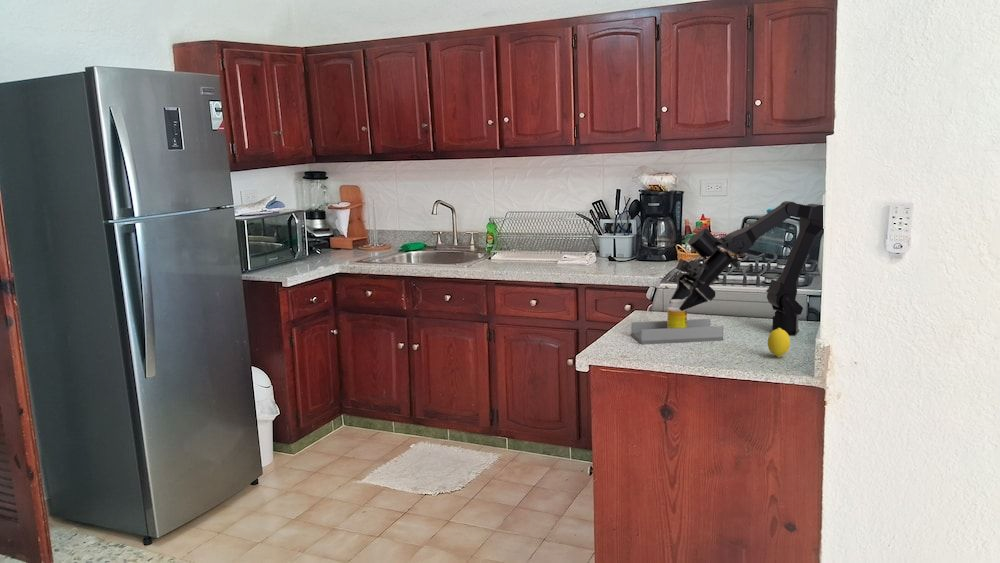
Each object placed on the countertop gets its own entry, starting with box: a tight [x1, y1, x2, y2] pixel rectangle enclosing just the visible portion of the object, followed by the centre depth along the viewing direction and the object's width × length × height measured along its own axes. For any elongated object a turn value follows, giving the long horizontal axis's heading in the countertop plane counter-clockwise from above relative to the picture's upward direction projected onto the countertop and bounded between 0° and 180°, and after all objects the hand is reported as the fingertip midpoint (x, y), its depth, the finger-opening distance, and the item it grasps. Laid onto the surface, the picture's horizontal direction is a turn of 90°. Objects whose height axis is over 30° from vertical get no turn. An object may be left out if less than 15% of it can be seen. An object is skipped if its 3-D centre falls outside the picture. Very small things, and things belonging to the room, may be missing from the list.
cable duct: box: [630, 318, 724, 345], centre depth 231 cm, size 24×11×4 cm, turn 95°
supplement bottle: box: [666, 299, 688, 328], centre depth 230 cm, size 6×6×10 cm
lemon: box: [767, 328, 791, 358], centre depth 206 cm, size 6×6×8 cm
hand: (675, 306), depth 229 cm, fingers open, 9 cm apart
